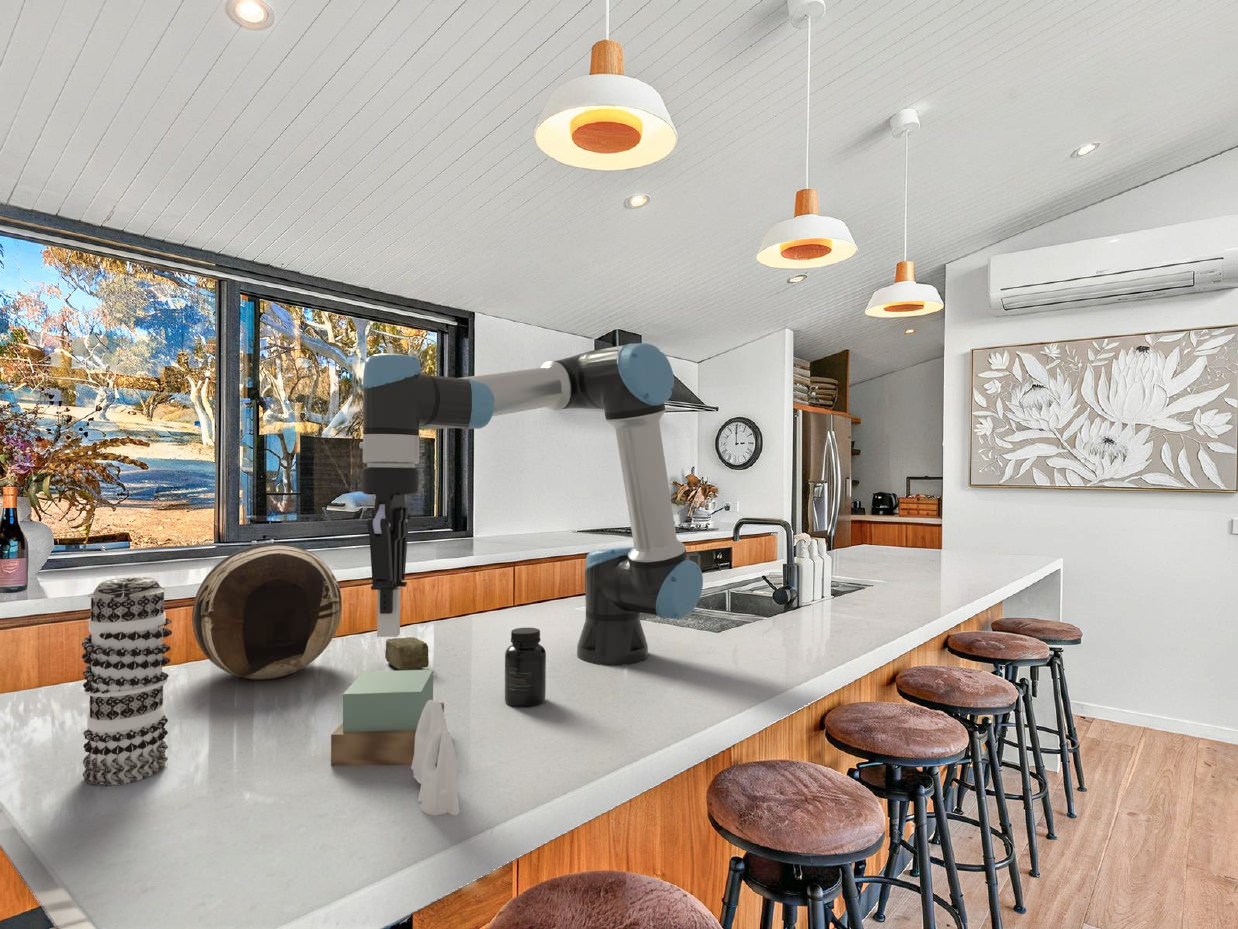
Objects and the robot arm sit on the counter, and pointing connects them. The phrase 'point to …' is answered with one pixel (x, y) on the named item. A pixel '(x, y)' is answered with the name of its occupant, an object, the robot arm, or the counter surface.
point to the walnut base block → (373, 747)
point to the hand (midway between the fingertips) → (388, 635)
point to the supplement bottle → (525, 669)
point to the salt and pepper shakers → (435, 763)
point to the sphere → (266, 611)
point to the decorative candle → (125, 681)
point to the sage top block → (386, 700)
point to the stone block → (407, 653)
